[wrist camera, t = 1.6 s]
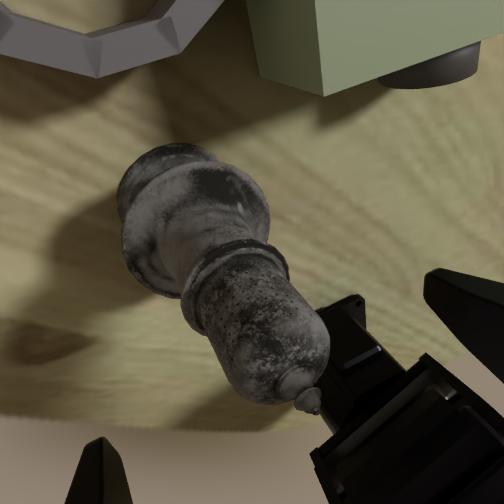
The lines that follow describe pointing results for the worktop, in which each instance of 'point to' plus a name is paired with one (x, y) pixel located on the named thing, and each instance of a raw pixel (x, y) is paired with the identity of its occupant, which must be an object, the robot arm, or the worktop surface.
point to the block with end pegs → (285, 40)
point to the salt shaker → (223, 271)
